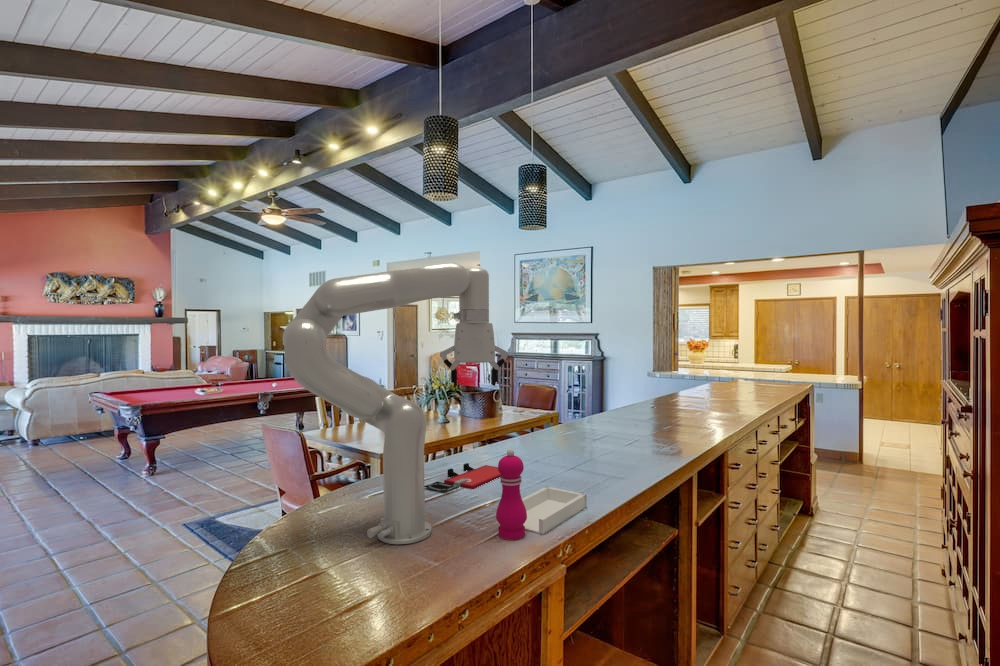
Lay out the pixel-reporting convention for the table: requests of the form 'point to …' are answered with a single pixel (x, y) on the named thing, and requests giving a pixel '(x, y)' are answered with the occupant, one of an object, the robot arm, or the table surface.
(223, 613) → the table surface
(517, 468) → the pepper mill
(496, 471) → the red board with handle
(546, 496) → the grey tray
